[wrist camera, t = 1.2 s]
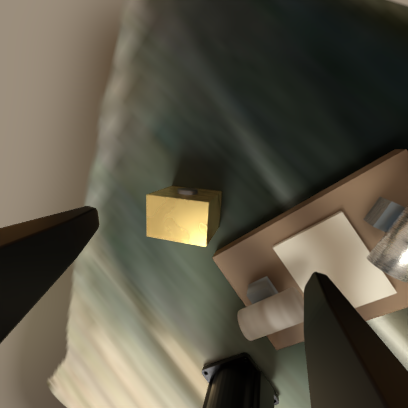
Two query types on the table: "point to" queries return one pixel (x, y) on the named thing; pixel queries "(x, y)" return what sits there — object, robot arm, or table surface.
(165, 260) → the table surface
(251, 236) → the base plate
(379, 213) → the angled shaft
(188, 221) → the yellow knobbed block
